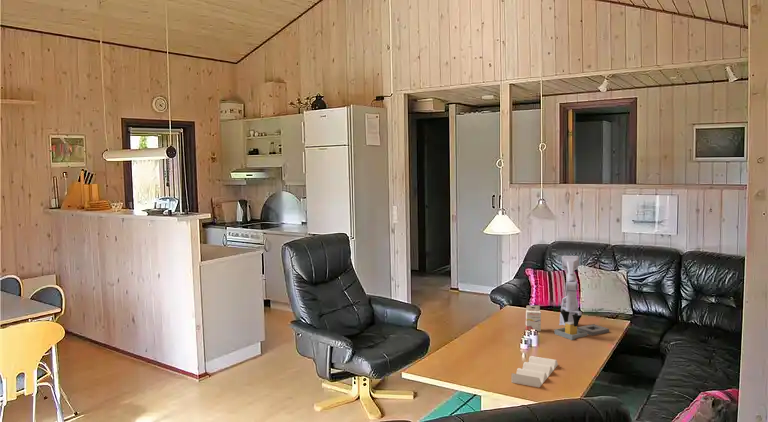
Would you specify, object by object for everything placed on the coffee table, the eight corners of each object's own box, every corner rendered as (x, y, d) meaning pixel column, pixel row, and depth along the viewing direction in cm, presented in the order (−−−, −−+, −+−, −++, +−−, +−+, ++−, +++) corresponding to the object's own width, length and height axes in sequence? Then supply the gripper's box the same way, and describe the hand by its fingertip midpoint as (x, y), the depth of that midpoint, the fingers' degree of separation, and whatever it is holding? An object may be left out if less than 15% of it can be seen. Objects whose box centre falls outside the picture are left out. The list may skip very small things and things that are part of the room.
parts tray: (554, 334, 358) (554, 329, 358) (569, 331, 364) (569, 326, 364) (572, 340, 346) (572, 335, 346) (587, 337, 352) (587, 332, 351)
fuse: (564, 334, 356) (565, 322, 355) (571, 332, 358) (572, 320, 358) (569, 335, 352) (570, 323, 351) (577, 334, 354) (577, 322, 354)
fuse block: (576, 331, 363) (576, 327, 363) (593, 328, 369) (593, 324, 369) (592, 336, 352) (592, 332, 352) (609, 333, 359) (609, 328, 358)
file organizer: (558, 365, 305) (558, 356, 305) (539, 388, 275) (539, 377, 274) (532, 361, 312) (532, 352, 311) (511, 383, 281) (511, 373, 281)
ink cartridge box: (526, 331, 366) (526, 307, 364) (525, 328, 370) (525, 305, 369) (540, 331, 365) (541, 307, 363) (539, 329, 370) (539, 305, 368)
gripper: (557, 300, 358) (556, 322, 359) (575, 305, 345) (575, 328, 346) (566, 298, 361) (565, 321, 362) (584, 303, 348) (584, 326, 350)
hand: (570, 324), depth 355 cm, fingers open, 7 cm apart
